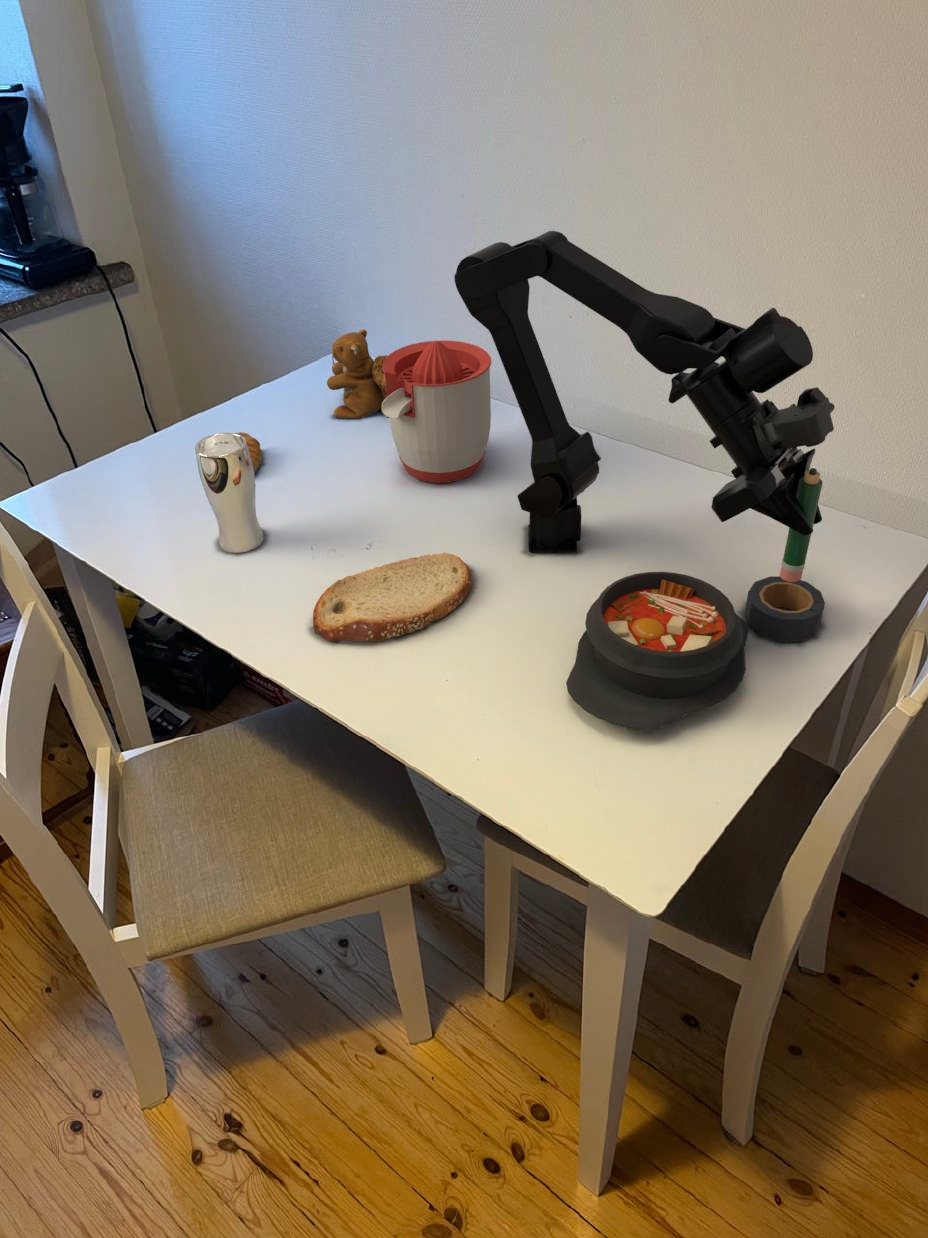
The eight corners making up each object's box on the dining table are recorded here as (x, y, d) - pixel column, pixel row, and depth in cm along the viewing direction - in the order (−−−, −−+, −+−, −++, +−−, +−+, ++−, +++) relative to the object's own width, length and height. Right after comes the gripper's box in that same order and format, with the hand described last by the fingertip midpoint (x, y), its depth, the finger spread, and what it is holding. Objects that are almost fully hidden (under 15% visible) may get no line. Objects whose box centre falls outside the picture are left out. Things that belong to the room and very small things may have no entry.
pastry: (268, 475, 147) (264, 453, 144) (225, 484, 145) (219, 461, 143) (260, 448, 154) (255, 426, 151) (218, 456, 152) (213, 434, 150)
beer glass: (276, 533, 134) (258, 436, 125) (248, 559, 129) (226, 461, 120) (236, 523, 136) (214, 428, 127) (206, 548, 131) (182, 451, 122)
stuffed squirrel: (344, 392, 169) (335, 319, 161) (420, 398, 166) (415, 324, 158) (323, 417, 162) (313, 342, 154) (402, 424, 158) (396, 348, 150)
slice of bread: (478, 567, 125) (477, 543, 123) (449, 655, 112) (447, 630, 109) (347, 556, 129) (344, 532, 126) (303, 640, 115) (299, 615, 113)
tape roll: (752, 642, 111) (756, 619, 109) (739, 599, 118) (743, 576, 116) (825, 643, 111) (831, 619, 108) (809, 599, 117) (814, 576, 115)
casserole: (645, 587, 120) (651, 531, 115) (784, 644, 111) (797, 585, 105) (526, 694, 106) (526, 636, 101) (674, 771, 96) (682, 710, 91)
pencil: (777, 579, 110) (799, 472, 101) (781, 568, 112) (803, 462, 103) (799, 584, 109) (823, 477, 100) (803, 572, 111) (827, 466, 102)
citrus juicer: (363, 470, 147) (348, 345, 134) (447, 432, 156) (440, 311, 143) (429, 508, 137) (419, 377, 125) (515, 465, 146) (514, 338, 134)
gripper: (757, 409, 92) (848, 540, 93) (825, 343, 103) (905, 460, 105) (674, 461, 100) (758, 579, 102) (745, 394, 112) (820, 502, 113)
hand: (813, 528), depth 105 cm, fingers closed on pencil, 2 cm apart
